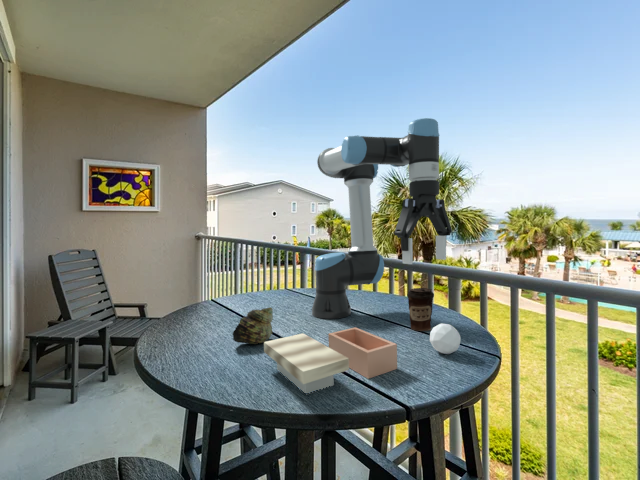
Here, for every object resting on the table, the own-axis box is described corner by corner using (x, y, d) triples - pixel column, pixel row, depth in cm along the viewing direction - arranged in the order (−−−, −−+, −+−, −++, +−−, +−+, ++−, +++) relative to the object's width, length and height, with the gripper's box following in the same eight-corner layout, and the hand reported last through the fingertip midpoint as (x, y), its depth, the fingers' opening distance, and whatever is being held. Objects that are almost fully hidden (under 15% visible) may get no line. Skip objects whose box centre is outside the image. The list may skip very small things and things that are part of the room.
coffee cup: (436, 333, 104) (435, 292, 103) (408, 332, 105) (408, 291, 105) (432, 325, 112) (432, 286, 111) (407, 324, 114) (406, 286, 113)
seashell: (238, 337, 106) (236, 306, 105) (274, 335, 107) (273, 304, 106) (232, 349, 95) (230, 315, 95) (272, 347, 96) (271, 313, 96)
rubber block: (277, 370, 81) (276, 354, 81) (302, 363, 84) (302, 347, 84) (305, 394, 69) (305, 375, 69) (333, 385, 73) (333, 367, 72)
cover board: (264, 352, 82) (263, 342, 82) (303, 342, 88) (303, 333, 88) (303, 384, 65) (303, 371, 65) (348, 369, 71) (348, 358, 71)
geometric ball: (453, 364, 88) (467, 346, 83) (423, 352, 89) (435, 334, 84) (453, 341, 94) (466, 324, 89) (425, 331, 95) (436, 313, 90)
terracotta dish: (329, 355, 89) (328, 333, 88) (355, 348, 93) (355, 327, 93) (368, 378, 75) (367, 352, 75) (397, 368, 80) (396, 344, 80)
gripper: (402, 176, 77) (403, 267, 78) (465, 181, 91) (465, 258, 92) (379, 180, 84) (380, 264, 85) (441, 184, 97) (442, 256, 99)
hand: (424, 261), depth 89 cm, fingers open, 13 cm apart
